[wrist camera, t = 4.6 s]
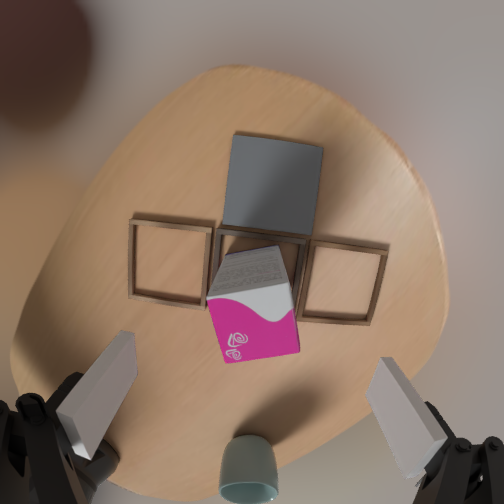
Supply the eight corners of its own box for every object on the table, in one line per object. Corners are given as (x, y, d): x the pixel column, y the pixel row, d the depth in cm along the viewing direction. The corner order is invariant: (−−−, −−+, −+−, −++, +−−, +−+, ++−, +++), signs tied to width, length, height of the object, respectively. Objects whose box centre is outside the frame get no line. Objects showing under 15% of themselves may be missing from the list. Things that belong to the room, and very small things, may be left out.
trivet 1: (130, 296, 31) (128, 298, 30) (131, 218, 29) (129, 219, 28) (205, 308, 31) (204, 310, 30) (212, 227, 29) (211, 228, 28)
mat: (222, 223, 29) (222, 224, 28) (233, 135, 27) (233, 134, 26) (310, 234, 29) (311, 235, 28) (322, 148, 27) (323, 147, 26)
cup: (267, 423, 35) (270, 478, 25) (280, 451, 36) (284, 500, 27) (216, 431, 35) (208, 484, 26) (233, 458, 37) (230, 506, 27)
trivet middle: (210, 309, 31) (209, 311, 30) (217, 227, 29) (216, 228, 28) (291, 318, 31) (291, 320, 30) (305, 238, 29) (306, 239, 28)
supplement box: (222, 254, 29) (203, 294, 18) (279, 243, 29) (294, 278, 18) (234, 305, 31) (224, 366, 19) (288, 295, 30) (305, 353, 19)
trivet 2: (295, 318, 31) (296, 321, 30) (309, 239, 29) (311, 240, 28) (368, 323, 31) (369, 325, 31) (386, 250, 29) (388, 251, 29)
